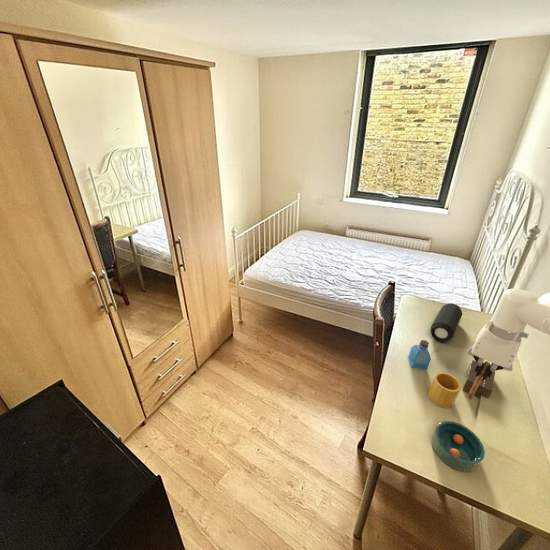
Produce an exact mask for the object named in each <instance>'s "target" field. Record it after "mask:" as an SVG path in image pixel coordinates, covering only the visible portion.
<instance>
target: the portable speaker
mask: <svg viewBox="0 0 550 550" xmlns="http://www.w3.org/2000/svg"><path fill="white" fill-rule="evenodd" d="M462 317H463V310H462V308H461V307H460V305H458V304H457V303H453V302H449V303H446V304H443V305H442V306H441V308H440V309H439V311H438V313H437V315H436V316H435V318H434V321H433V322H432V324H431V326H430V330H429V331H430V334H431V337H432V338H433V339H434V340H435V341H437V342H440V343H446V342H448V341H451V340H452V339H453V337H454V335H455V333H456V331H457V328H458V326H459V323H460V321H461V318H462Z"/></svg>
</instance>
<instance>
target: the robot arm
mask: <svg viewBox="0 0 550 550" xmlns="http://www.w3.org/2000/svg"><path fill="white" fill-rule="evenodd" d="M527 326H530V327H531V328H533V329H535V330H538V331H539V332H541V333H543V334H546V335H549V336H550V292H548V293H544V294H543V295H541V296H540V297H539V298H538V297H537V295H535V294H534V293H532V292H530V291H528V290H525V289H522V288H515V287H514V288H509V289H507V290H505V291H504V293H503V294H502V296H501V298H500V300H499V302H498V304H497V307H496V308H495V311H494V313H493V315H492V316H491V319H490V321H489V324H488V323H487V324H485V325H484V326H483V327H482V328H481V329H480V331H479V333H478V334H477V336H476V337H475V340H474V342H473V344H472V345H471V346H470V347H469V348H467V351H466V353H467V354H468V355H469V356H470V357H472V358H473V360H474V361H476V362H477V366H476V368H475V370H474V371H476V376H479V374H480V372H481V370H482V368H483V364H484V362H485V361H487V362H489V363H490V365H489V367H488V369H487V370H486V372H485V374H484V376H483V379H484V380H486V378H487V377H490V376H491V374H492V372H494V371H495V370H496V371H502V370H503V371H509V372H512V371H513V368H514V366H513V365H514V364H513V363H514V361H515V359H516V357H517V355H518V352H519V351H520V347H521V343H522V339H523V338H524V339H528V337H529V335H530V334H529V333H527V332H525V329H526V327H527ZM496 371H495V372H496Z"/></svg>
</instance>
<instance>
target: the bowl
mask: <svg viewBox="0 0 550 550" xmlns="http://www.w3.org/2000/svg"><path fill="white" fill-rule="evenodd" d="M455 434H459V435H461V436H462V437H463V440H464V441H463V443H462V444H460V445H459V444H456V443H455V442H454V441H453V436H454V435H455ZM431 444H432V447H433V450H434V452H435V453H436V455H437V456H438V457H439V459H441V461H443V462H444V463H445V464H446V465H448V466H449V467H451V468H452V469H455V470H456V471H457V470H458V471H459V472H467V473H470V472H473V471H476V470H477V469H478V468H479V467H480V465H481V464H482V462H483V460H484V459H485V455H486V454H485V453H486V451H485V447H484V444H483V443H482V441H481V439H480V438H479V437H478V435H476V433H475V432H473V431H472V430H471V429H469V427H467V426H465V425H463V424H462V423H459V422H456V421H452V420H444V421H441V422H439V423H438V424H437V425H436V427H435V429H434V431H433V433H432V436H431ZM452 448H455V449H457V450H458V451H459V452H460V458H458V457H456V456H454V455H453V454H451V453H450V452H449V450H450V449H452Z"/></svg>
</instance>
